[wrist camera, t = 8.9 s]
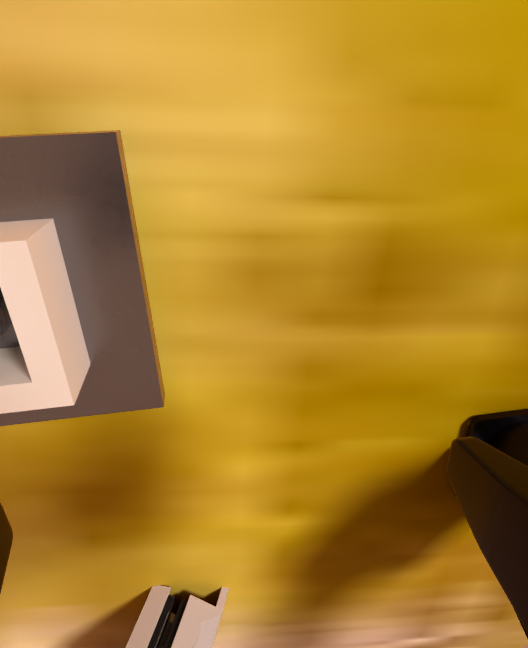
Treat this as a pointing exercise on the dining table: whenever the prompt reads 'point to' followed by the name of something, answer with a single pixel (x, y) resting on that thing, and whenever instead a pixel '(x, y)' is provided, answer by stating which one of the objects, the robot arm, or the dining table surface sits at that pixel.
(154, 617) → the napkin holder
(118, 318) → the grey base with post
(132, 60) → the dining table surface
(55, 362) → the collar
